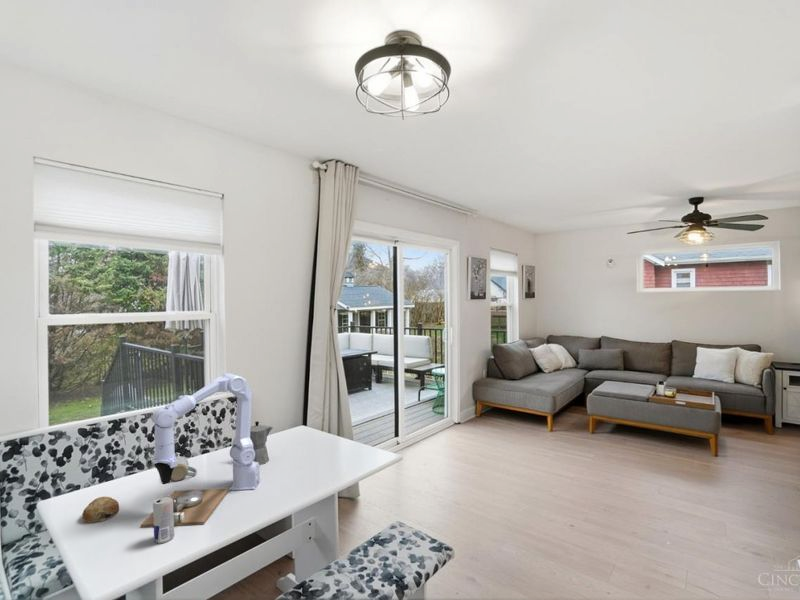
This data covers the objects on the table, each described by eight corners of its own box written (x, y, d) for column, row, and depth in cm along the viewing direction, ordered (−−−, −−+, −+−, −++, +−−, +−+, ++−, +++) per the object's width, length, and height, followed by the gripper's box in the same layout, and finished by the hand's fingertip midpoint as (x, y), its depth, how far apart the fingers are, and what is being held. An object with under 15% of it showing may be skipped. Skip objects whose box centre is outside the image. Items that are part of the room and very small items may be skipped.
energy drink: (159, 534, 130) (158, 496, 130) (177, 533, 131) (176, 495, 131) (150, 544, 125) (149, 505, 125) (169, 543, 125) (168, 503, 125)
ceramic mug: (168, 484, 165) (167, 464, 165) (167, 476, 173) (167, 457, 173) (197, 478, 171) (197, 459, 171) (196, 470, 178) (196, 452, 178)
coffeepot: (274, 456, 192) (273, 417, 191) (272, 464, 182) (271, 423, 182) (238, 459, 188) (237, 420, 188) (235, 468, 179) (234, 426, 179)
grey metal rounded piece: (187, 495, 152) (186, 482, 152) (207, 497, 151) (207, 483, 151) (159, 516, 138) (158, 502, 138) (181, 518, 137) (180, 503, 137)
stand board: (229, 490, 158) (228, 481, 158) (203, 524, 135) (203, 514, 135) (175, 493, 157) (174, 484, 157) (140, 527, 134) (140, 517, 134)
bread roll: (88, 536, 137) (92, 517, 135) (75, 515, 141) (79, 496, 140) (121, 521, 145) (125, 503, 143) (108, 502, 150) (112, 485, 148)
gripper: (143, 442, 144) (145, 481, 145) (160, 452, 135) (162, 493, 135) (165, 436, 150) (166, 474, 150) (183, 445, 141) (184, 485, 141)
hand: (166, 483), depth 143 cm, fingers closed
